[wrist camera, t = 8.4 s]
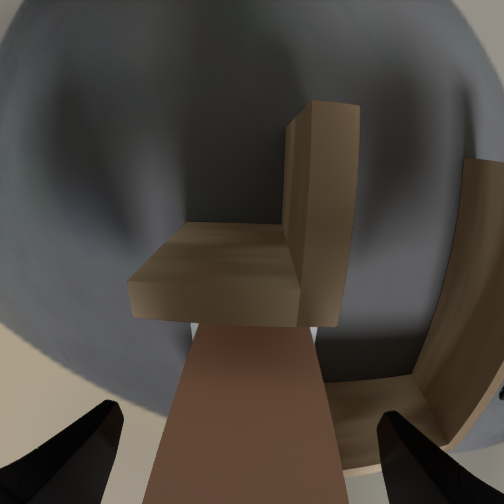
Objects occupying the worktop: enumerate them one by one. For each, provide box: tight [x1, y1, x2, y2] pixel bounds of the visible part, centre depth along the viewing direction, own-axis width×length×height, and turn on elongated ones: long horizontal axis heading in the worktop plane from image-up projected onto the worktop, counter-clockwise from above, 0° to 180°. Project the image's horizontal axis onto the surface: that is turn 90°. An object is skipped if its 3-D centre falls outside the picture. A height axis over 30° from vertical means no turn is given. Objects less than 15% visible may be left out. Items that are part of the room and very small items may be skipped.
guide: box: [127, 99, 504, 478], centre depth 10 cm, size 14×14×6 cm
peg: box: [142, 323, 349, 504], centre depth 8 cm, size 4×4×10 cm
